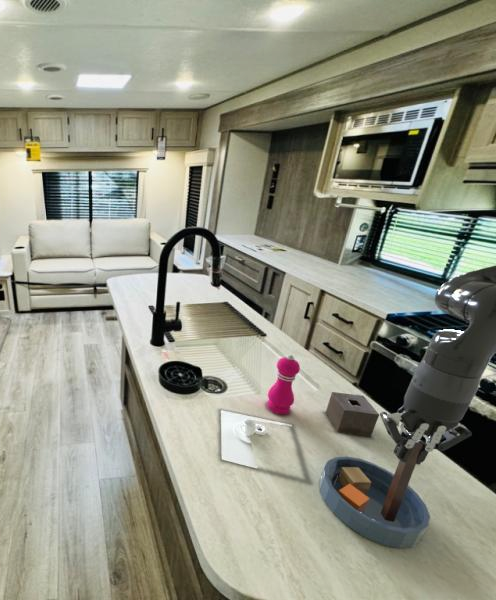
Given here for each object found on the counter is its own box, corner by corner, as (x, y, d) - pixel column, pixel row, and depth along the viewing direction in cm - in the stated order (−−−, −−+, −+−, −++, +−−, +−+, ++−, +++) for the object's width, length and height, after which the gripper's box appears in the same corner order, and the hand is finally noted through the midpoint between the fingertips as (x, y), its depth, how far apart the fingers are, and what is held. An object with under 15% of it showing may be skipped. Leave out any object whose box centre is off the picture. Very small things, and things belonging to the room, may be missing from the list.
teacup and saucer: (264, 428, 92) (267, 417, 91) (268, 449, 86) (271, 437, 84) (233, 421, 95) (234, 411, 94) (234, 441, 88) (236, 429, 87)
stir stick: (389, 515, 66) (417, 437, 61) (394, 522, 65) (423, 443, 59) (380, 513, 67) (407, 436, 61) (385, 520, 65) (413, 441, 59)
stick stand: (355, 416, 96) (363, 395, 93) (370, 436, 89) (379, 414, 86) (325, 412, 98) (331, 391, 95) (337, 431, 91) (344, 410, 88)
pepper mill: (268, 414, 98) (281, 359, 91) (263, 399, 105) (274, 347, 97) (294, 417, 96) (309, 362, 89) (286, 402, 103) (300, 349, 96)
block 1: (353, 479, 76) (358, 467, 74) (366, 494, 72) (371, 482, 71) (336, 478, 76) (341, 467, 74) (348, 494, 72) (353, 482, 71)
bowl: (388, 481, 76) (395, 464, 74) (442, 561, 60) (454, 542, 58) (307, 466, 80) (312, 450, 78) (338, 538, 64) (345, 520, 62)
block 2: (344, 495, 72) (349, 483, 71) (364, 511, 69) (370, 498, 67) (334, 502, 70) (338, 490, 69) (353, 519, 67) (359, 506, 66)
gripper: (408, 395, 54) (376, 468, 60) (510, 408, 50) (465, 484, 57) (383, 370, 60) (357, 439, 67) (471, 380, 57) (435, 451, 63)
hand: (407, 459), depth 62 cm, fingers closed on stir stick, 1 cm apart
